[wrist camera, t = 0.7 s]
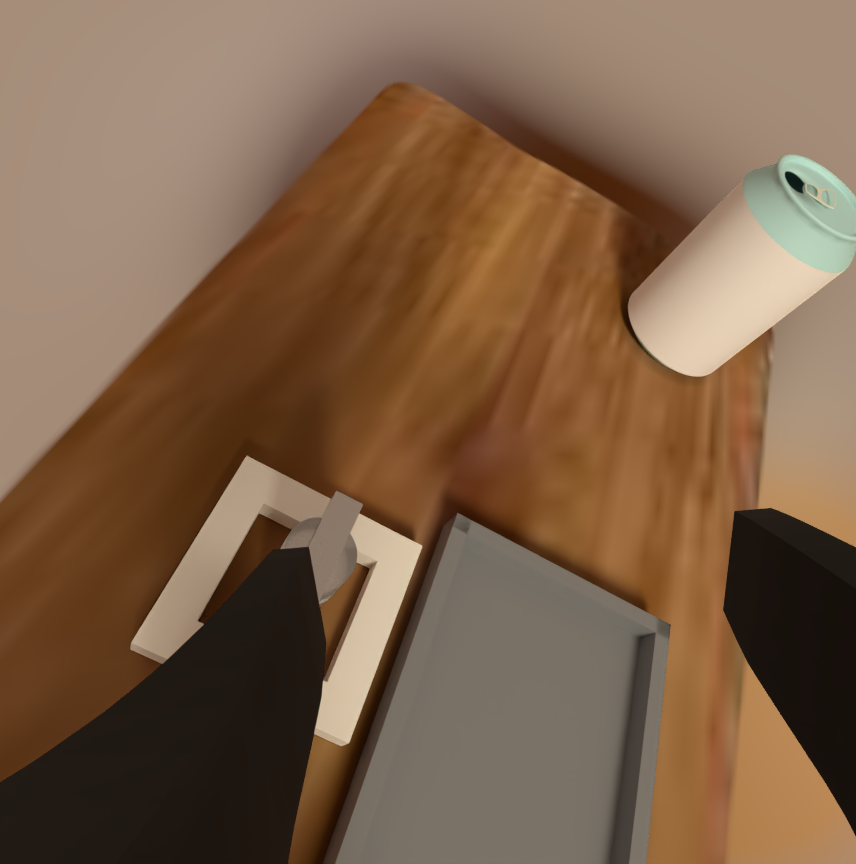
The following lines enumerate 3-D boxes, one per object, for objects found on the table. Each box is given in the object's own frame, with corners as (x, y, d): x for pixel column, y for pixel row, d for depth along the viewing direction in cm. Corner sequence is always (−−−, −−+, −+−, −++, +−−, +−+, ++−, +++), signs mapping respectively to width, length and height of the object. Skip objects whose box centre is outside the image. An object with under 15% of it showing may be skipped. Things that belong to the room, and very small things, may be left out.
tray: (595, 1072, 22) (623, 1086, 21) (291, 948, 20) (303, 954, 19) (649, 632, 31) (670, 624, 30) (443, 525, 30) (457, 512, 29)
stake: (296, 654, 25) (340, 611, 20) (236, 625, 24) (267, 576, 20) (334, 569, 27) (382, 513, 22) (280, 542, 26) (317, 480, 22)
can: (645, 381, 40) (813, 238, 30) (606, 288, 43) (748, 132, 34) (728, 383, 43) (904, 255, 34) (686, 296, 46) (837, 156, 37)
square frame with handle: (294, 867, 21) (348, 876, 17) (58, 765, 20) (43, 744, 16) (413, 554, 28) (475, 497, 24) (242, 466, 27) (271, 389, 23)
